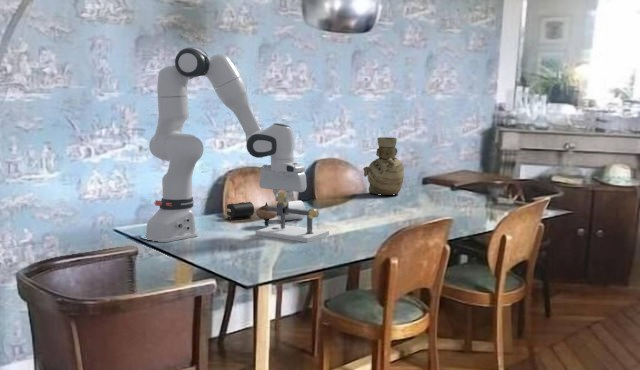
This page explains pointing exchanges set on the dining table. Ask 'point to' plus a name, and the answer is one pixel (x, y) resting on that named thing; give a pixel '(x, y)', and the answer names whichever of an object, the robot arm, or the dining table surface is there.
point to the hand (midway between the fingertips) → (282, 201)
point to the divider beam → (310, 214)
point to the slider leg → (281, 205)
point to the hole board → (292, 233)
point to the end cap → (240, 210)
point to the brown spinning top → (265, 214)
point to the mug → (294, 206)
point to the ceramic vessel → (385, 169)
